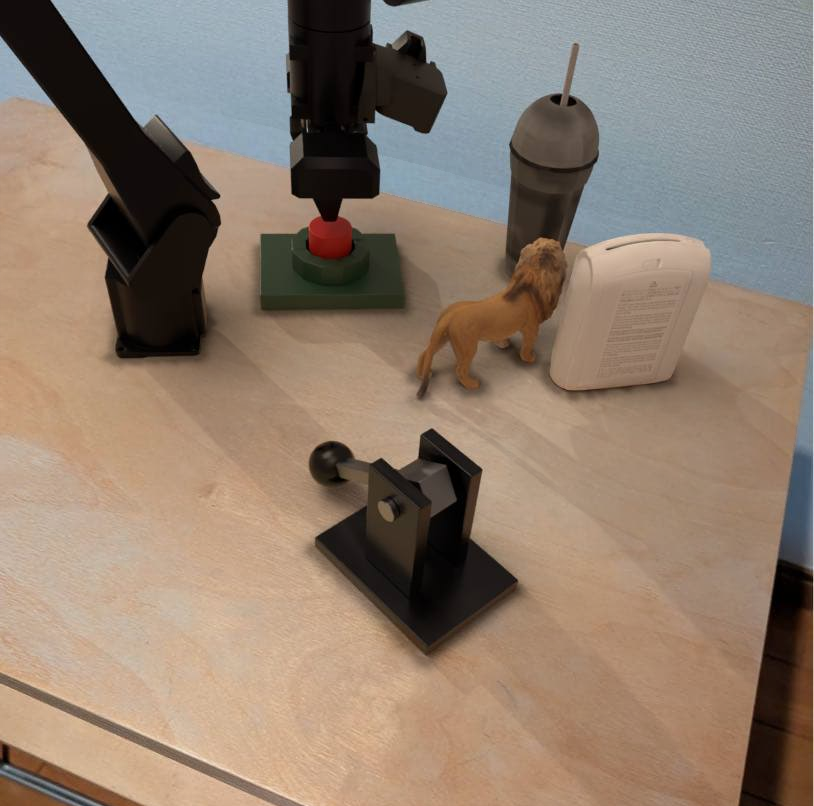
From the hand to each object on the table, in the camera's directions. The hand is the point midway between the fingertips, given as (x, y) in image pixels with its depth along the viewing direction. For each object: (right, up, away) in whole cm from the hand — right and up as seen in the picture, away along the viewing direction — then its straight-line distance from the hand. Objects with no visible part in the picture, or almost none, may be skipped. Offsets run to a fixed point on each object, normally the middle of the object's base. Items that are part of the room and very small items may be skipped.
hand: (329, 219), depth 75 cm
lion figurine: (+13, -12, -1) cm, 17 cm away
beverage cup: (+17, -2, +7) cm, 19 cm away
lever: (+5, -24, -16) cm, 29 cm away
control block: (0, -4, +5) cm, 6 cm away
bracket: (+7, -28, -15) cm, 33 cm away
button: (0, -2, +2) cm, 3 cm away
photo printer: (+23, -13, -1) cm, 26 cm away
